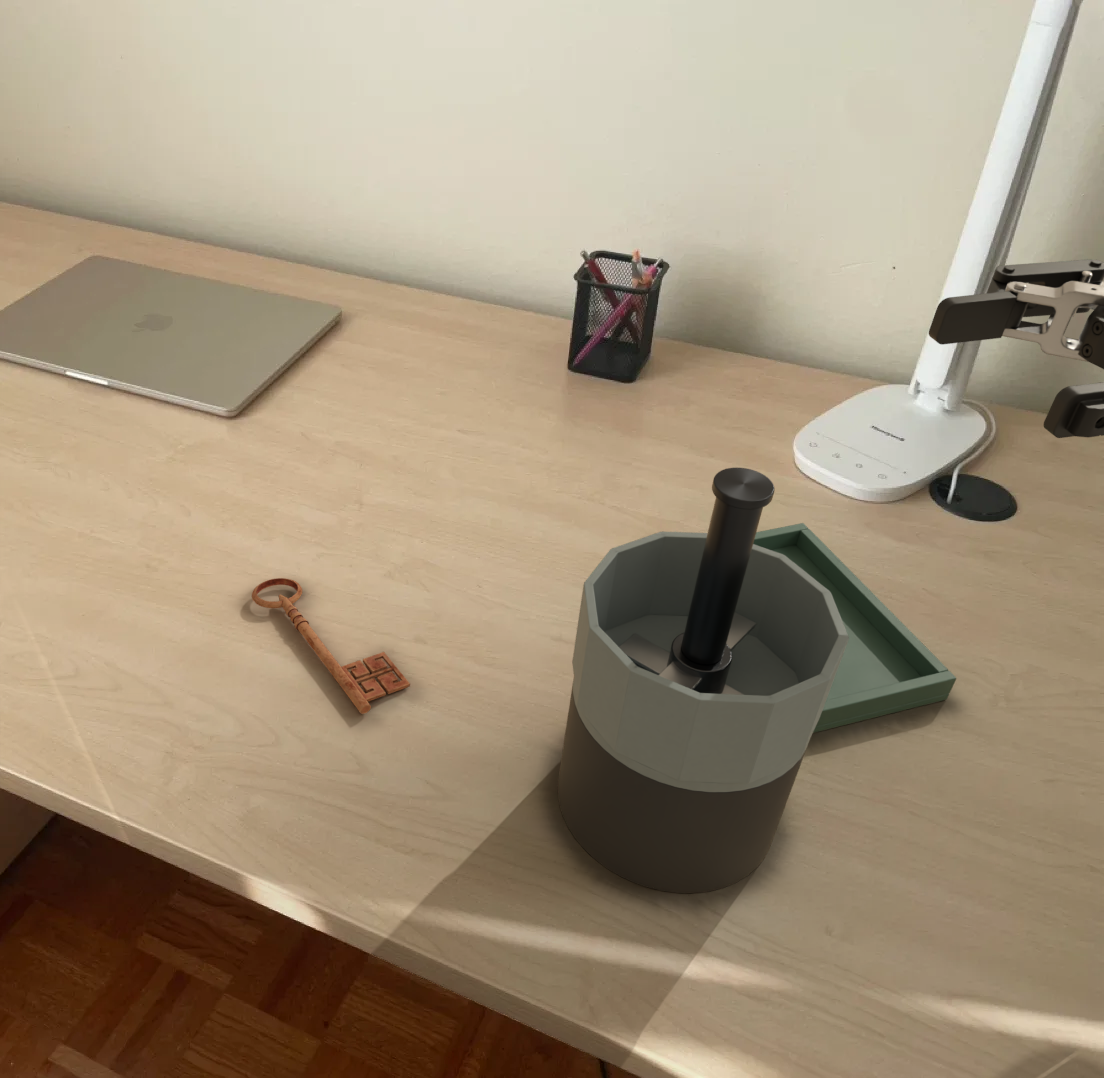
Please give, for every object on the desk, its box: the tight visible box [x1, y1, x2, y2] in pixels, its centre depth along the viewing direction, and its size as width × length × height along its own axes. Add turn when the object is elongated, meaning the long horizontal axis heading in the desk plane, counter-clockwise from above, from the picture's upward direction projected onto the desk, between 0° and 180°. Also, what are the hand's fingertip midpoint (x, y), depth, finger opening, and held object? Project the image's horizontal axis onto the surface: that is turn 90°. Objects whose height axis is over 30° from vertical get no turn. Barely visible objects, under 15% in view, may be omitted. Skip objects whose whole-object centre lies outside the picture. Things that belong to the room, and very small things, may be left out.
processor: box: [557, 531, 849, 894], centre depth 60 cm, size 13×13×16 cm
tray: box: [753, 522, 957, 734], centre depth 76 cm, size 18×14×2 cm
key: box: [251, 577, 411, 715], centre depth 76 cm, size 6×1×15 cm
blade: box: [619, 467, 776, 695], centre depth 54 cm, size 9×9×14 cm
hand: (992, 365), depth 48 cm, fingers open, 8 cm apart
